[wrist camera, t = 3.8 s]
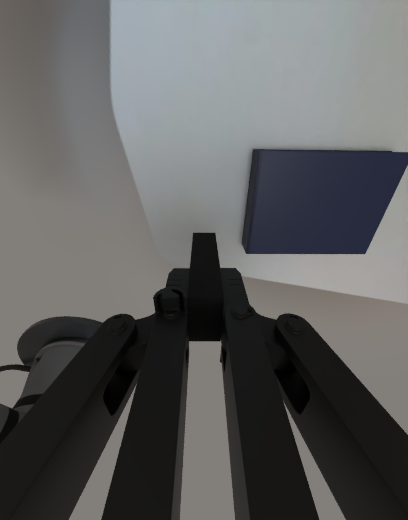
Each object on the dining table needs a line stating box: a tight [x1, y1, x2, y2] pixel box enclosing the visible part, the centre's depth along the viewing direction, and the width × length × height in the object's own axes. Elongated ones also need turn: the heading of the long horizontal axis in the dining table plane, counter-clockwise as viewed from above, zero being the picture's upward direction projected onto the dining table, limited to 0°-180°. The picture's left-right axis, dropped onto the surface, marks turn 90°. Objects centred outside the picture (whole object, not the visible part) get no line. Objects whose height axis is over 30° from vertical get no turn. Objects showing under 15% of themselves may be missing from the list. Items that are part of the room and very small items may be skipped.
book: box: [242, 149, 408, 254], centre depth 25 cm, size 16×12×3 cm
